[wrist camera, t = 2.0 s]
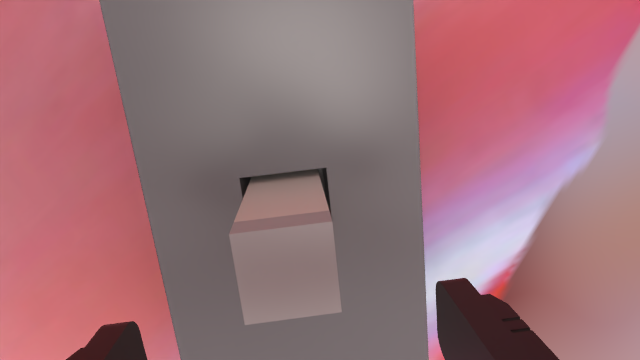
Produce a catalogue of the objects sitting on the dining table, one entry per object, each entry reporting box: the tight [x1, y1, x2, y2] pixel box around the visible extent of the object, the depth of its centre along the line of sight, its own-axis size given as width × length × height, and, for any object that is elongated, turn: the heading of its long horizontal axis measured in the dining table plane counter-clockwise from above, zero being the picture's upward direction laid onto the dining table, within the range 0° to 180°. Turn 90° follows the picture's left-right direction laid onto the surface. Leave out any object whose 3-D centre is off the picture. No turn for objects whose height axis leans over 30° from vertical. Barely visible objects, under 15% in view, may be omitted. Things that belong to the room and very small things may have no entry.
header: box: [99, 0, 429, 360], centre depth 23 cm, size 14×22×4 cm, turn 6°
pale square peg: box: [229, 169, 342, 325], centre depth 20 cm, size 4×4×11 cm
